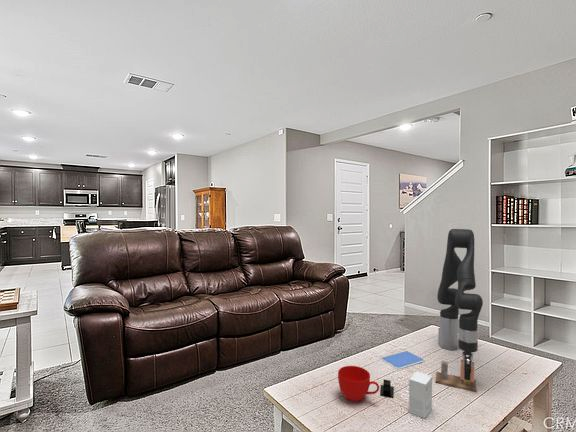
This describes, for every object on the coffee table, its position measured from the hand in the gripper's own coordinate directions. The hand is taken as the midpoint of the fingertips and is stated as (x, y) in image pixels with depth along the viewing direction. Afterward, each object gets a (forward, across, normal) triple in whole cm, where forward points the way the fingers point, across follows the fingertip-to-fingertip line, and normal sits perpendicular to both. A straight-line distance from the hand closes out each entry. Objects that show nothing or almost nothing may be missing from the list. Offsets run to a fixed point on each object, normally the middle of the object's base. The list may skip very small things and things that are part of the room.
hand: (467, 376), depth 144 cm
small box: (+4, +29, -16) cm, 34 cm away
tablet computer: (+5, -11, -29) cm, 31 cm away
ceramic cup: (+4, +33, -40) cm, 52 cm away
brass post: (+4, 0, 0) cm, 4 cm away
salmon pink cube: (+1, 0, 0) cm, 1 cm away
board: (+4, 0, -4) cm, 6 cm away
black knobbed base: (+5, +21, -30) cm, 38 cm away
